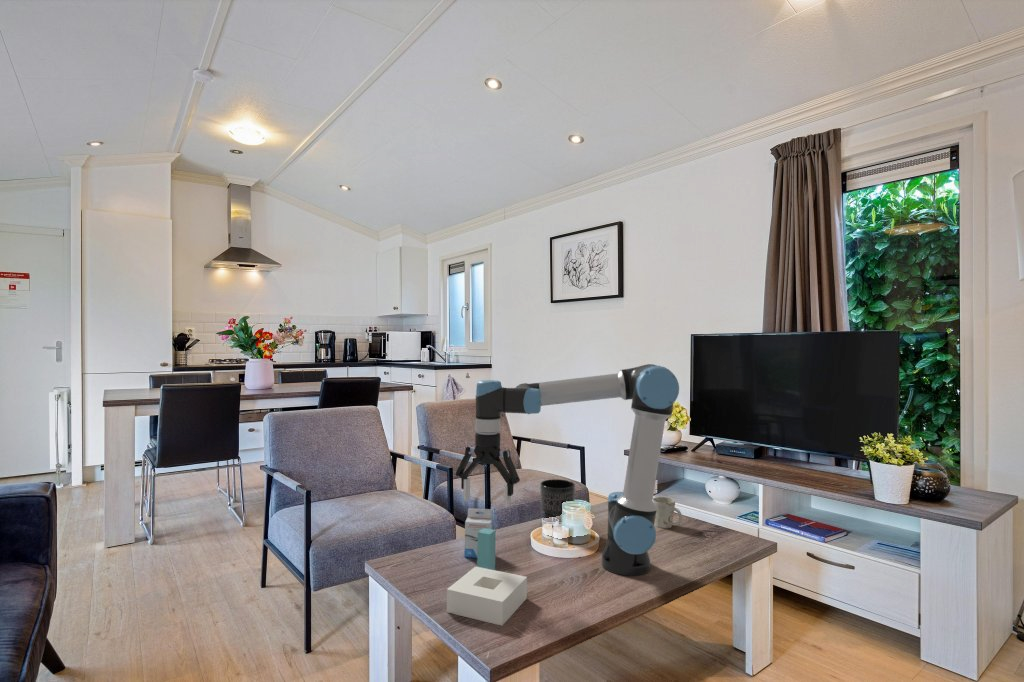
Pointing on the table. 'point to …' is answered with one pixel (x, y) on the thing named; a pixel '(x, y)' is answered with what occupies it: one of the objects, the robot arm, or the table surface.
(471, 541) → the ink box
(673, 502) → the mug
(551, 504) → the planter
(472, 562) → the table surface
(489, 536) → the post
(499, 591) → the socket block
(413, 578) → the table surface
